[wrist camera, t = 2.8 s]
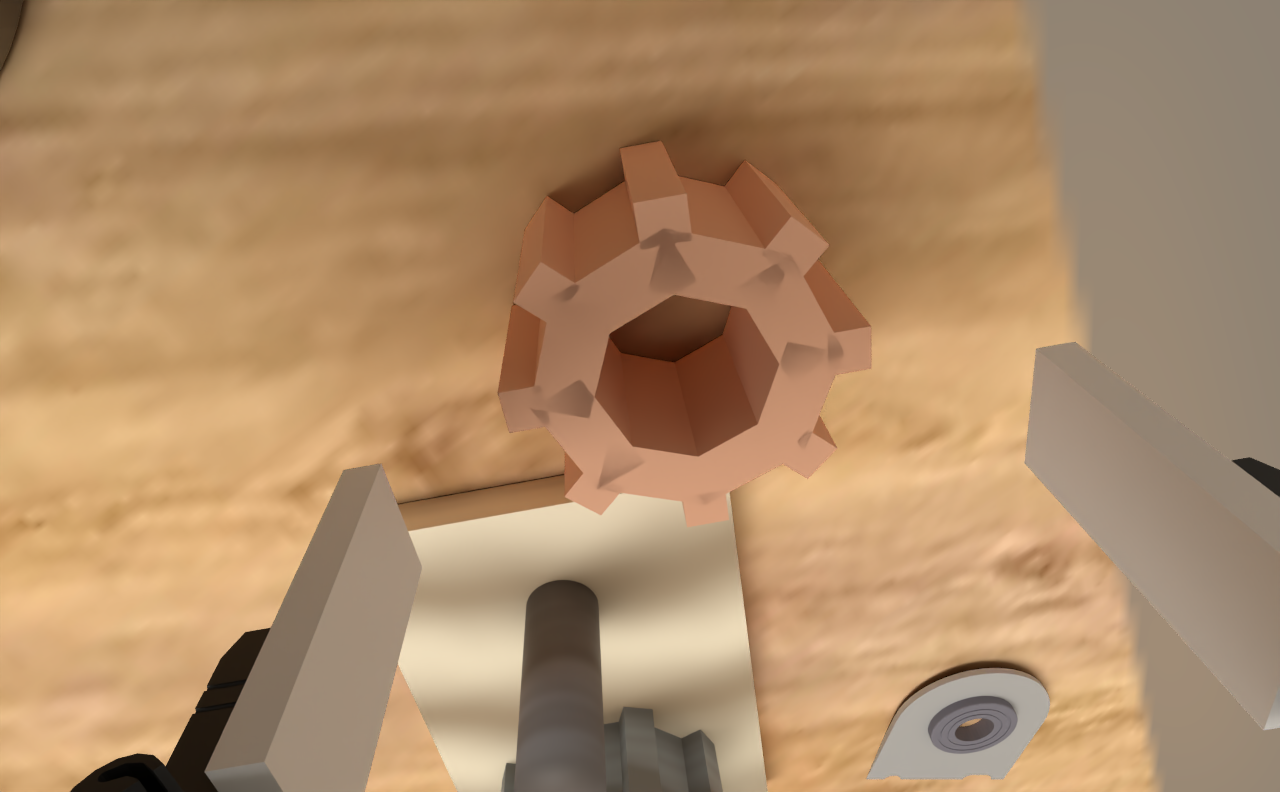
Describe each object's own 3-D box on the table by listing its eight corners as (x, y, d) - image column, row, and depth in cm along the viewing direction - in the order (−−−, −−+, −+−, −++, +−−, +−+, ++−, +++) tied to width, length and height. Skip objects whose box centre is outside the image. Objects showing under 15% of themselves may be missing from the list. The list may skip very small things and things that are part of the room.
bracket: (1063, 655, 32) (1113, 728, 29) (981, 802, 37) (1017, 878, 34) (913, 651, 31) (948, 725, 28) (849, 802, 36) (874, 880, 33)
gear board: (353, 512, 25) (271, 726, 18) (719, 447, 25) (776, 638, 18) (494, 829, 34) (474, 1052, 27) (763, 782, 34) (812, 995, 27)
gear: (454, 256, 21) (425, 335, 17) (722, 81, 19) (765, 118, 15) (619, 464, 25) (629, 572, 21) (854, 333, 23) (919, 420, 19)
